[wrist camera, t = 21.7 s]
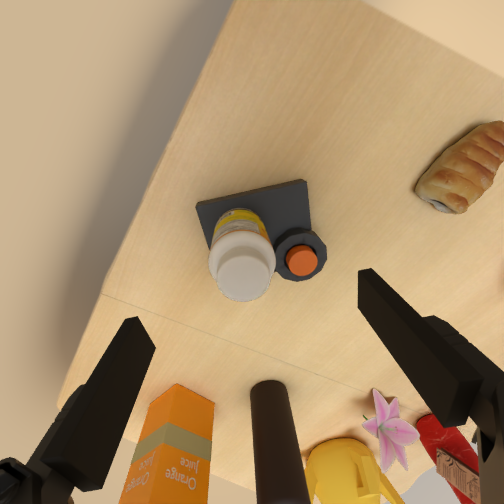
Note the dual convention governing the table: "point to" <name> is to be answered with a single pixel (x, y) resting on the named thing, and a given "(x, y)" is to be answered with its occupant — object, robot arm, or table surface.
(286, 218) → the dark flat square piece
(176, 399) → the orange juice
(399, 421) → the lily
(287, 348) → the table surface
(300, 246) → the button
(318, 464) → the teapot
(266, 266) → the supplement bottle
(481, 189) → the pastry
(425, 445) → the water bottle
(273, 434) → the vinegar
